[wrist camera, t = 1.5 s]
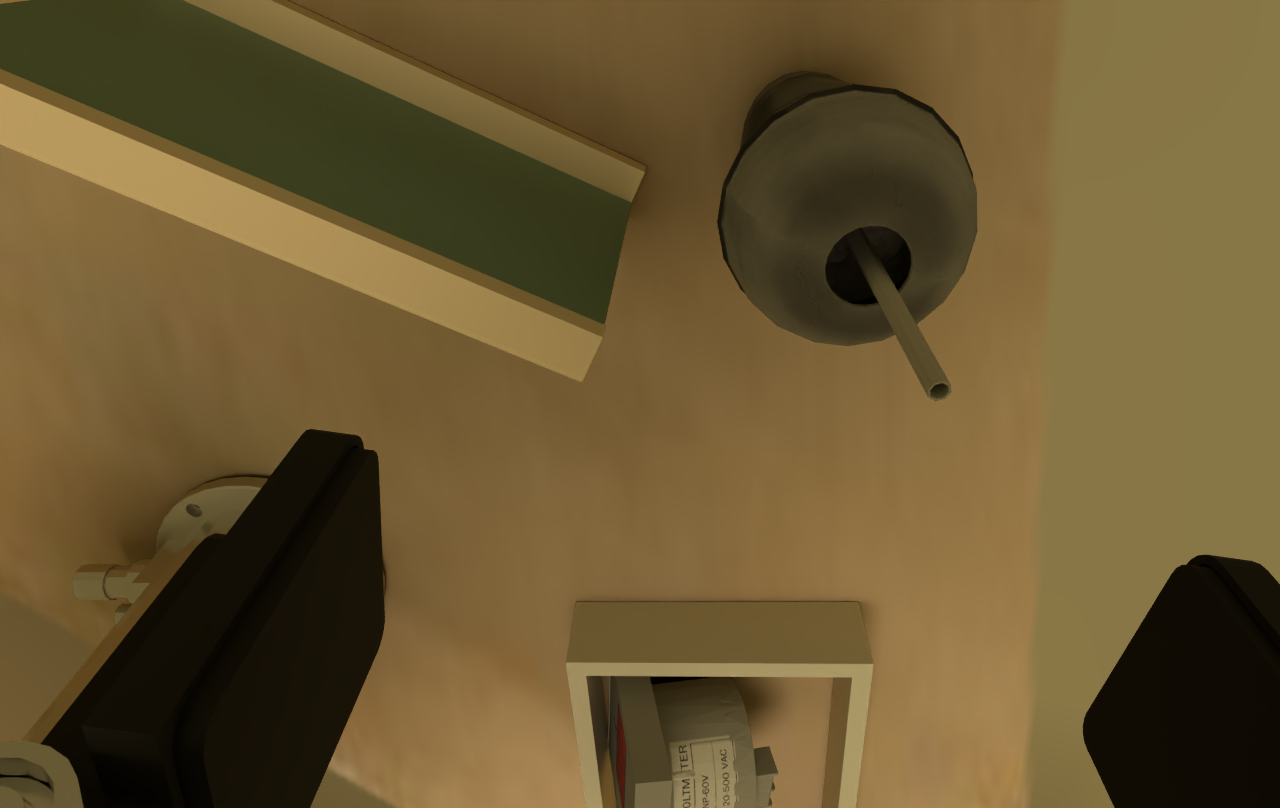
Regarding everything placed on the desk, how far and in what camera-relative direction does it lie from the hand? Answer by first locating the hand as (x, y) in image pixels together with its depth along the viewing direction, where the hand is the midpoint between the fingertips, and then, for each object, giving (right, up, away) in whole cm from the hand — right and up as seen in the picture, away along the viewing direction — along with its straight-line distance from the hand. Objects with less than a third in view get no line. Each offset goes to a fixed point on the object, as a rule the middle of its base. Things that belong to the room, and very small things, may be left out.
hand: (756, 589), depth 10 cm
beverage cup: (+5, +14, +24) cm, 28 cm away
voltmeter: (+3, -21, +45) cm, 49 cm away
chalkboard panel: (-11, +14, +24) cm, 30 cm away
